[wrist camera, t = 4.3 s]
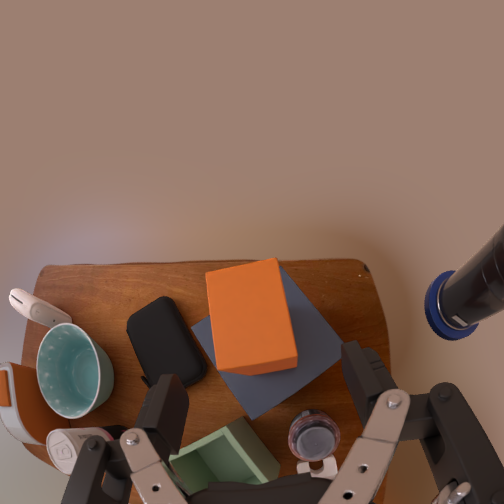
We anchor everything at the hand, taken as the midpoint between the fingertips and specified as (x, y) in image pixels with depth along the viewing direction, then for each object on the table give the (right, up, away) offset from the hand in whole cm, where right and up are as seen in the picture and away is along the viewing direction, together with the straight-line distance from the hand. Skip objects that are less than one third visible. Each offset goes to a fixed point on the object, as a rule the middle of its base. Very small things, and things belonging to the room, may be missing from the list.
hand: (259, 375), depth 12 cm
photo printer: (-40, -8, +34) cm, 53 cm away
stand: (+4, -9, +25) cm, 27 cm away
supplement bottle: (+8, -19, +20) cm, 29 cm away
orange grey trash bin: (-39, -25, +25) cm, 53 cm away
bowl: (-28, -16, +27) cm, 43 cm away
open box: (-3, -23, +19) cm, 31 cm away
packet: (+1, -2, +10) cm, 11 cm away
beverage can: (-22, -26, +22) cm, 40 cm away
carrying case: (-14, -9, +28) cm, 33 cm away
